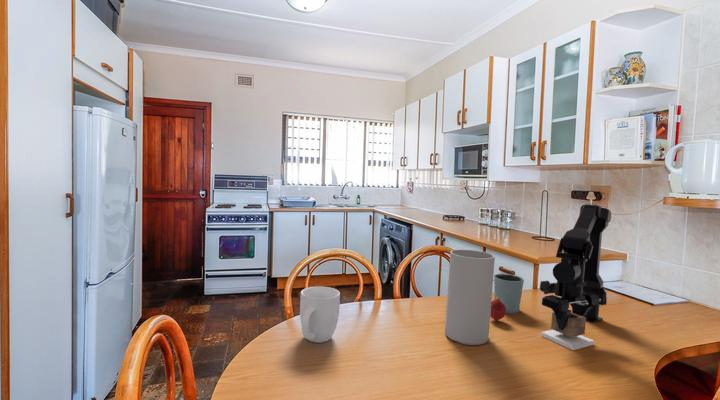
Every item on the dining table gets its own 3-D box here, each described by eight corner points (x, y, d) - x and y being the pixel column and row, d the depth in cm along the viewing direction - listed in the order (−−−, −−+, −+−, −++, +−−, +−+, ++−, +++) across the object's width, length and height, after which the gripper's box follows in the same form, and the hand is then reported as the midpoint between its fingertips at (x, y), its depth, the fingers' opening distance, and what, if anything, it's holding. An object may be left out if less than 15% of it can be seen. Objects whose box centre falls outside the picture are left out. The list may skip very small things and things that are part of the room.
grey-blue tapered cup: (523, 308, 137) (525, 277, 136) (518, 316, 128) (521, 282, 128) (495, 302, 142) (497, 272, 142) (488, 309, 134) (491, 277, 133)
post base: (561, 331, 117) (563, 313, 117) (593, 344, 108) (595, 325, 108) (541, 335, 113) (542, 317, 112) (572, 350, 104) (574, 330, 103)
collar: (564, 325, 115) (565, 310, 114) (584, 334, 109) (586, 317, 109) (550, 328, 112) (552, 312, 111) (571, 337, 106) (572, 320, 106)
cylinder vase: (458, 324, 118) (463, 248, 116) (495, 338, 109) (502, 255, 108) (436, 335, 109) (442, 252, 108) (475, 350, 100) (481, 260, 99)
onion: (506, 325, 120) (508, 301, 119) (488, 322, 121) (490, 299, 120) (503, 318, 125) (505, 295, 125) (485, 316, 127) (487, 293, 126)
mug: (323, 356, 93) (325, 305, 92) (284, 348, 96) (286, 299, 95) (343, 333, 107) (345, 289, 106) (309, 327, 110) (311, 284, 109)
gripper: (566, 268, 121) (562, 314, 122) (528, 272, 112) (524, 322, 113) (601, 277, 111) (596, 327, 112) (562, 282, 102) (557, 337, 103)
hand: (568, 328), depth 110 cm, fingers closed on collar, 6 cm apart
